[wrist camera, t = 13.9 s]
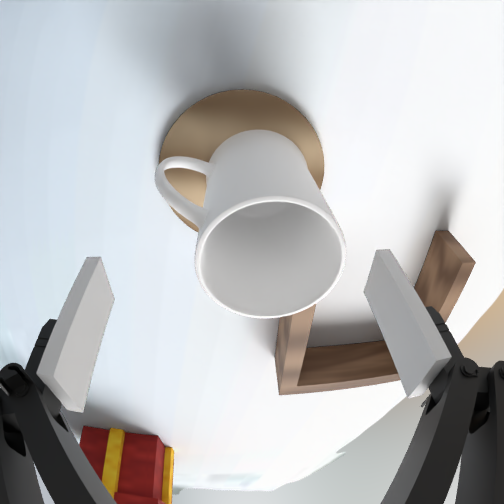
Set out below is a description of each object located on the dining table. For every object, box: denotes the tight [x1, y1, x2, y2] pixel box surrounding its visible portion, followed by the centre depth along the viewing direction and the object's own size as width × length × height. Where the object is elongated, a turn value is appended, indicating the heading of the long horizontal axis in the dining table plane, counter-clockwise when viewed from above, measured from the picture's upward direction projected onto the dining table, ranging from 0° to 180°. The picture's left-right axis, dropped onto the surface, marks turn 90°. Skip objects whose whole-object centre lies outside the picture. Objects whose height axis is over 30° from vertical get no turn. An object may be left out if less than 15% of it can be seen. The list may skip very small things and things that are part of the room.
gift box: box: [79, 426, 174, 504], centre depth 56 cm, size 25×25×20 cm
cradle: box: [275, 231, 476, 395], centre depth 34 cm, size 20×19×6 cm
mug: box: [155, 130, 346, 318], centre depth 21 cm, size 12×8×12 cm
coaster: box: [159, 89, 324, 232], centre depth 26 cm, size 14×14×1 cm
